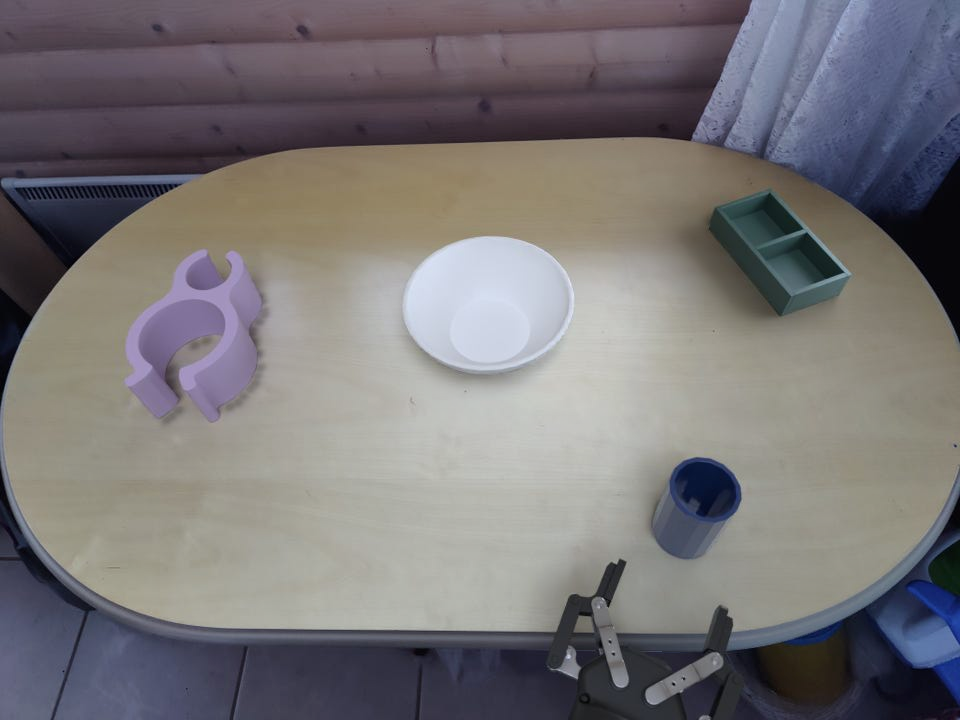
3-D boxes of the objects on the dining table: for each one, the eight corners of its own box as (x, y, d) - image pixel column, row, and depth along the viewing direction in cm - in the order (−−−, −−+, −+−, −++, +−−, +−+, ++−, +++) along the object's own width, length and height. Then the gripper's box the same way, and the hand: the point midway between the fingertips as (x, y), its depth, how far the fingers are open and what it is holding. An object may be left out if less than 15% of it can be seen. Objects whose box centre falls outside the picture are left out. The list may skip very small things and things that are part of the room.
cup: (723, 517, 68) (750, 476, 60) (702, 571, 65) (728, 534, 57) (665, 490, 70) (684, 446, 62) (642, 540, 67) (659, 501, 59)
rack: (780, 316, 82) (791, 296, 79) (708, 228, 91) (714, 206, 87) (839, 295, 83) (852, 274, 80) (762, 210, 92) (770, 188, 89)
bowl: (529, 428, 75) (529, 396, 69) (379, 365, 81) (369, 331, 75) (595, 303, 84) (600, 265, 79) (457, 255, 90) (453, 217, 85)
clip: (192, 284, 90) (170, 247, 84) (283, 289, 88) (267, 252, 83) (133, 416, 79) (102, 384, 73) (236, 424, 77) (213, 392, 72)
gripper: (709, 848, 43) (771, 612, 51) (508, 734, 48) (594, 532, 55) (685, 844, 50) (744, 635, 57) (509, 744, 54) (587, 561, 62)
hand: (670, 584), depth 56 cm, fingers open, 8 cm apart
